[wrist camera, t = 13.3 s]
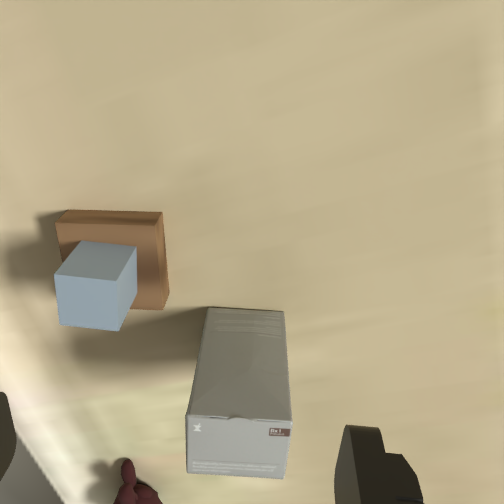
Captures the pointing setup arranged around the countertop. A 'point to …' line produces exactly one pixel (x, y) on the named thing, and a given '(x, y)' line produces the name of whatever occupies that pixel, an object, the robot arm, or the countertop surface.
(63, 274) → the blue block
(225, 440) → the skincare box
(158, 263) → the walnut base
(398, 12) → the countertop surface
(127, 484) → the icecream
